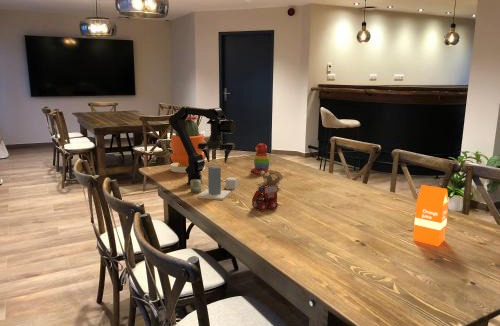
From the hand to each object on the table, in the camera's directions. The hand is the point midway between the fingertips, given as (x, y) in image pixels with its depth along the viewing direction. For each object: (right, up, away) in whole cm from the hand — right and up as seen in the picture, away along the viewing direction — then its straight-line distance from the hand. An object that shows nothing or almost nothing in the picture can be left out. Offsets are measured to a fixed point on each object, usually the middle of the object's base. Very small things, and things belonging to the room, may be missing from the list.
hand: (216, 162), depth 217 cm
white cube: (+8, -13, +1) cm, 15 cm away
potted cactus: (-20, -5, +40) cm, 46 cm away
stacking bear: (+24, -6, +37) cm, 44 cm away
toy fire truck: (+24, -21, -32) cm, 45 cm away
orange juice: (+82, -28, -66) cm, 109 cm away
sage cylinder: (-10, -15, -8) cm, 20 cm away
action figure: (+28, -13, +6) cm, 31 cm away
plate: (0, -16, -13) cm, 21 cm away
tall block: (0, -15, -13) cm, 20 cm away
